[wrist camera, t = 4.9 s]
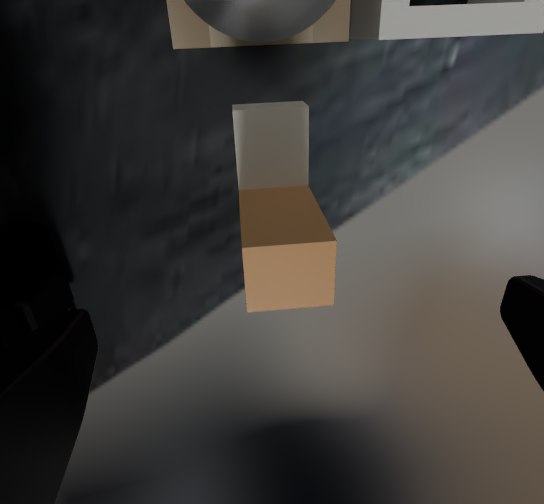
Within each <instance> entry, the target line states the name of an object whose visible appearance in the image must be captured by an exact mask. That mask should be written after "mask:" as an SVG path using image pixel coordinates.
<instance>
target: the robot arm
mask: <svg viewBox="0 0 544 504" xmlns="http://www.w3.org/2000/svg"><path fill="white" fill-rule="evenodd" d="M32 230H35V231H37V232H38V233H39V236H37V235H35V234H33V232H32ZM72 301H73V295H72V292H71V289H70V286H69V283H68V280H67V277H66V274H65V271H64V268H63V265H62V263H61V262H60V261H59V260H58V259H57V257H56V254H55V251H54V248H53V246H52V243H51V240H50V237H49V234H48V231H47V229H46V227H45V226H44V225H42V224H40V223H35V222H33V223H18V224H4V225H0V504H55V501H56V498H57V495H58V492H59V490H60V487H61V484H62V481H63V478H64V475H65V472H66V469H67V466H68V463H69V460H70V457H71V454H72V451H73V448H74V445H75V442H76V439H77V436H78V433H79V430H80V427H81V424H82V421H83V416H84V413H85V409H86V404H87V400H88V395H89V390H90V386H91V381H92V376H93V371H94V367H95V362H96V357H97V353H98V340H97V336H96V333H95V330H94V327H93V324H92V320H91V317H90V314H89V313H88V311H87V310H85V309H76V310H74V307H73V304H72ZM500 313H501V317H502V320H503V322H504V323H505V325H506V327H507V329H508V331H509V332H510V334H511V336H512V338H513V340H514V342H515V343H516V345H517V347H518V349H519V351H520V352H521V354H522V356H523V358H524V360H525V362H526V363H527V365H528V367H529V369H530V371H531V372H532V374H533V376H534V377H535V379H536V380H537V382H538V383H539V385H540V387H541V388H542V389H543V391H544V279H541V278H538V277H535V276H531V275H528V276H516V277H515V276H514V277H512V278H511V279H510V280H509V281H508V283H507V286H506V290H505V293H504V296H503V300H502V303H501V306H500Z"/></svg>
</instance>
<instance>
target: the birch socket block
mask: <svg viewBox="0 0 544 504" xmlns="http://www.w3.org/2000/svg"><path fill="white" fill-rule="evenodd" d="M350 1H351V0H336V1H335V2H334V3H333V5H332V6H331V7H330V9H329V10H328V11H327V12H326V13H325V14H324V15H323V16H322V17H321V18H320V19H319V20H318V21H316V22H315V23H314V24H313V25H311V26H310V27H308V28H307V29H305V30H304V31H302V32H300V33H298V34H296V35H294V36H291V37H289V38H286V39H282V40H279V41H273V42H249V41H244V40H239V39H236V38H233V37H230V36H228V35H226V34H223V33H221V32H219V31H217V30H216V29H214V28H213V27H211V26H210V25H208V24H207V23H206V22H204V21H203V20H202V19H201V18H200V17H199V16H198V15H196V14H195V13H194V12H193V10H192V9H191V8H190V7H189V6H188V5H187V4H186V3H185V1H184V0H167V7H168V14H169V22H170V29H171V36H172V43H173V49H184V48H207V47H230V46H252V45H275V44H298V43H321V42H344V41H349V21H350Z"/></svg>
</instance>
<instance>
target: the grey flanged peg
mask: <svg viewBox="0 0 544 504" xmlns="http://www.w3.org/2000/svg"><path fill="white" fill-rule="evenodd" d="M184 1H185V3H186V4H187V5H188V6H189V7H190V8H191V9H192V10H193V12H194V13H195V14H196V15H198V16H199V17H200V18H201V19H202V20H203V21H204V22H206V23H207V24H208V25H210V26H211V27H213V28H214V29H216V30H217V31H219V32H221V33H223V34H226V35H228V36H230V37H233V38H236V39H239V40H244V41H249V42H273V41H279V40H282V39H286V38H289V37H291V36H294V35H296V34H298V33H300V32H302V31H304V30H305V29H307V28H308V27H310V26H311V25H313V24H314V23H315V22H316V21H318V20H319V19H320V18H321V17H322V16H323V15H324V14H325V13H326V12H327V11H328V10H329V9H330V7H331V6H332V5H333V3H334V2H335V1H336V0H184Z"/></svg>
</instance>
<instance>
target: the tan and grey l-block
mask: <svg viewBox="0 0 544 504" xmlns="http://www.w3.org/2000/svg"><path fill="white" fill-rule="evenodd" d="M232 111H233V123H234V136H235V148H236V161H237V173H238V185H239V202H240V220H241V239H242V254H243V266H244V278H245V290H246V301H247V312H258V311H269V310H282V309H293V308H305V307H317V306H329V305H334V290H335V268H336V266H335V265H336V247H337V240H336V238H335V237H334V235H333V233H332V231H331V229H330V227H329V225H328V223H327V221H326V219H325V217H324V215H323V213H322V211H321V209H320V207H319V205H318V203H317V202H316V200H315V198H314V196H313V194H312V192H311V190H310V188H309V186H308V146H309V106H308V105H307V104H305V103H304V102H303V101H293V102H275V103H256V104H237V105H232Z"/></svg>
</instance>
